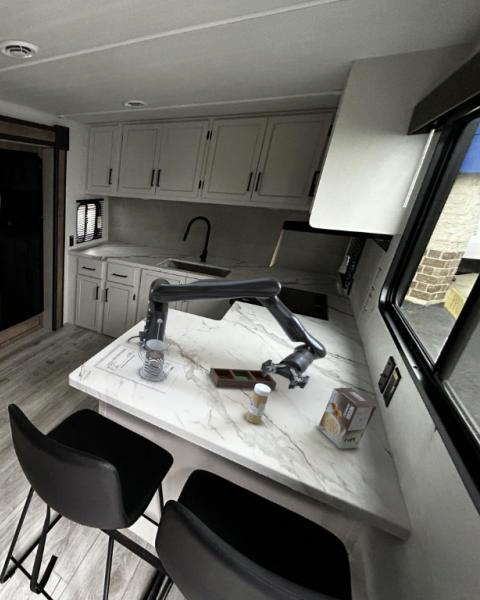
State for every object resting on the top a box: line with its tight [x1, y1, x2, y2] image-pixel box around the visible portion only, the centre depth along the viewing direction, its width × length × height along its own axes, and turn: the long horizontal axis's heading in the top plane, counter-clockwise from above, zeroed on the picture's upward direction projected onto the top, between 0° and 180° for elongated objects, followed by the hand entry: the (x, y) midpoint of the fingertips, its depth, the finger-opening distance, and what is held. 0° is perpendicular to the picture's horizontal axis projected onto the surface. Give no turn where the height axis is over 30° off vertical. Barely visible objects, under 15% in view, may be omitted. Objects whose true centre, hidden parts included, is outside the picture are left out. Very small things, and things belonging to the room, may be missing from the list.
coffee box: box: [317, 387, 377, 449], centre depth 99 cm, size 9×6×16 cm
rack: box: [208, 367, 278, 391], centre depth 126 cm, size 8×23×4 cm, turn 88°
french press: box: [137, 319, 168, 382], centre depth 126 cm, size 10×12×25 cm
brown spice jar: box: [245, 384, 272, 424], centre depth 105 cm, size 5×5×13 cm
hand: (276, 380), depth 110 cm, fingers open, 8 cm apart
